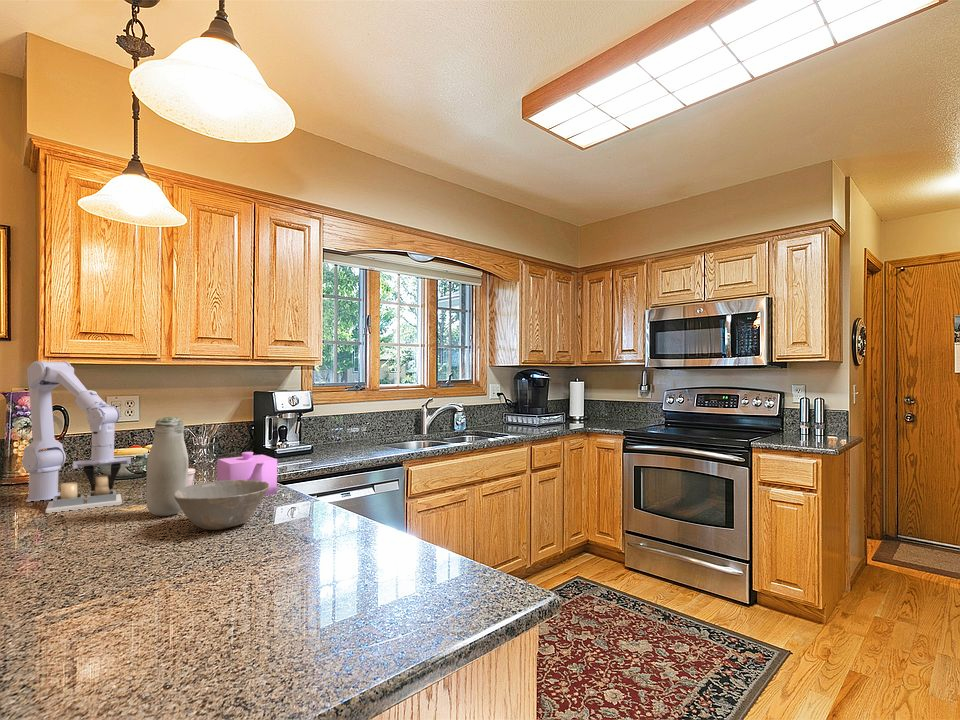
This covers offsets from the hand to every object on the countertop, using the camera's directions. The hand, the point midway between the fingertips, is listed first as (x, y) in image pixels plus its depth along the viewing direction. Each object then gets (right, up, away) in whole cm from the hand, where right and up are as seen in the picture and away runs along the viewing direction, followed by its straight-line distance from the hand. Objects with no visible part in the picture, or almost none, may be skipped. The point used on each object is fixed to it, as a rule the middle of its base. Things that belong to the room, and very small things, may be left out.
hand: (102, 489), depth 162 cm
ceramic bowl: (+49, -4, -22) cm, 54 cm away
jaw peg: (0, -2, 0) cm, 2 cm away
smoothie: (+23, -5, +4) cm, 24 cm away
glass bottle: (+28, -4, -13) cm, 31 cm away
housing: (-3, -4, -2) cm, 6 cm away
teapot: (+40, -5, +13) cm, 42 cm away
